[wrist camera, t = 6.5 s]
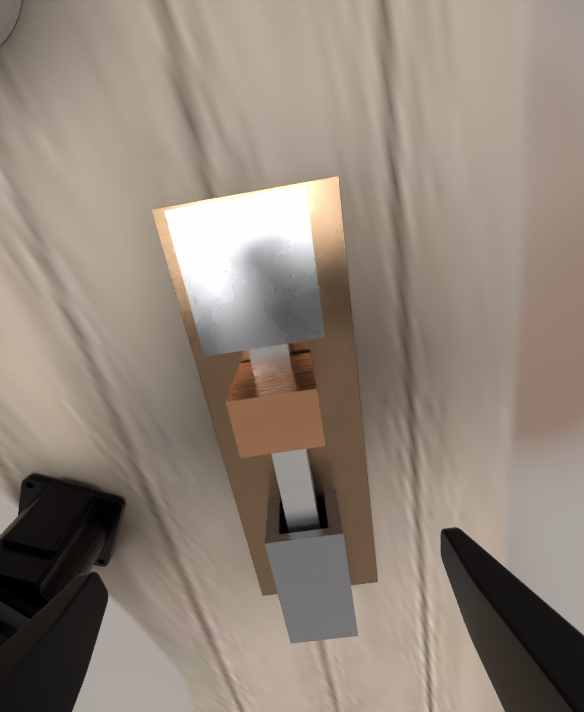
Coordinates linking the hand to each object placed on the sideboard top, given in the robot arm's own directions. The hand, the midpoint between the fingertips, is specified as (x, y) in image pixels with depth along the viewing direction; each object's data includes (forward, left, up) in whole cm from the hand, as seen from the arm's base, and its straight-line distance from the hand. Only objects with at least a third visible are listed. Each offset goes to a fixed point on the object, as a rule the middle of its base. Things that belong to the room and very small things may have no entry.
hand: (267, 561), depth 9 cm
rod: (-2, -1, -11) cm, 11 cm away
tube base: (-4, -2, -12) cm, 13 cm away
